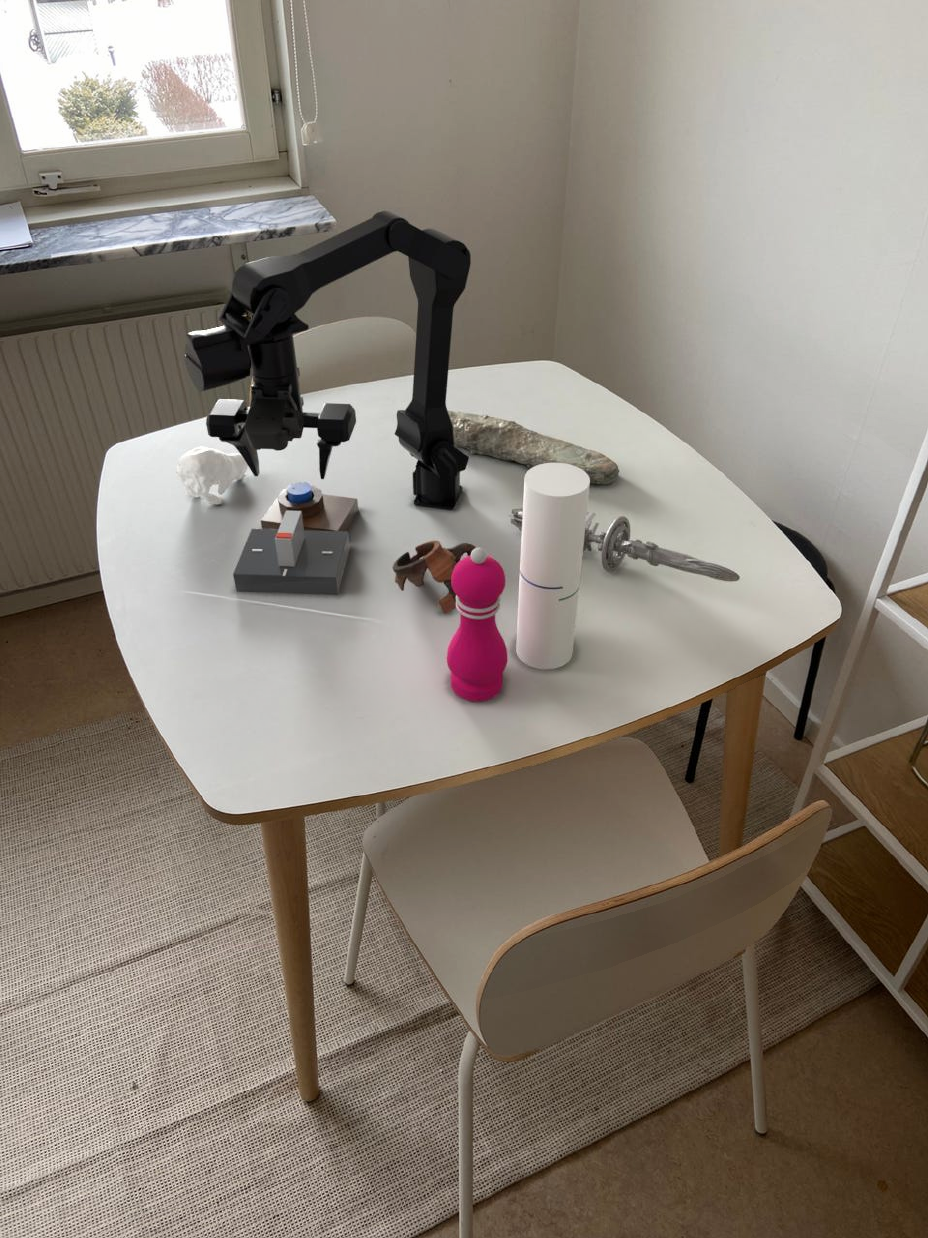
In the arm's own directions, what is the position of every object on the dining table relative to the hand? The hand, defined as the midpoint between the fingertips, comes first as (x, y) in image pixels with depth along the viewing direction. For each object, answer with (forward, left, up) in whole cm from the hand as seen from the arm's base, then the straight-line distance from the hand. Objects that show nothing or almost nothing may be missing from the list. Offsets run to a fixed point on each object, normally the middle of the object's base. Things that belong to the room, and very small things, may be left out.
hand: (290, 476), depth 127 cm
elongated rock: (-26, -34, -12) cm, 45 cm away
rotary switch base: (-1, +5, -12) cm, 13 cm away
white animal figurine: (+18, -12, -12) cm, 25 cm away
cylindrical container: (-38, +14, -12) cm, 43 cm away
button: (+2, -7, -8) cm, 11 cm away
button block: (+1, -7, -12) cm, 14 cm away
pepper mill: (-31, +22, -12) cm, 40 cm away
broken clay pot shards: (-22, +5, -12) cm, 26 cm away
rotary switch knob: (-1, +5, -9) cm, 10 cm away
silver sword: (-45, -6, -12) cm, 47 cm away
